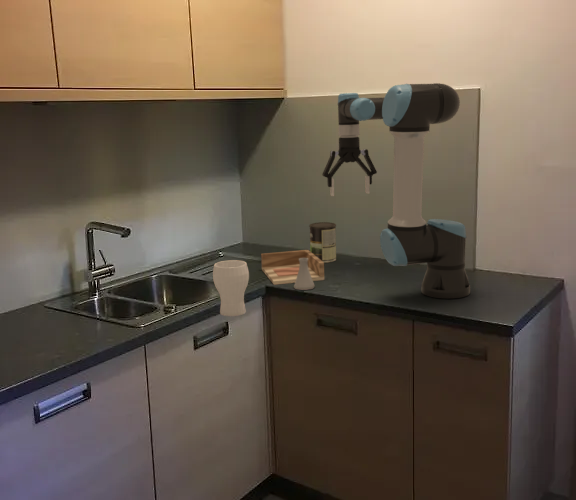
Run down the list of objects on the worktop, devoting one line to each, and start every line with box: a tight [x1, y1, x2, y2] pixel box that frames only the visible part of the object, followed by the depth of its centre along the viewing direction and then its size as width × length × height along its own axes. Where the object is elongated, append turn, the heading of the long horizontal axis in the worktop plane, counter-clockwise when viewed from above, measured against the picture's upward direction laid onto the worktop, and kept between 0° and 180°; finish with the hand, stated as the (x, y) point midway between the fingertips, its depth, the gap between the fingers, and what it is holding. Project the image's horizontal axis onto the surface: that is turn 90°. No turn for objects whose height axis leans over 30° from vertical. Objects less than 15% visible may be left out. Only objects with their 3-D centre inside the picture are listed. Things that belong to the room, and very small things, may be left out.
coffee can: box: [308, 221, 337, 264], centre depth 258 cm, size 10×10×14 cm
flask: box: [293, 258, 316, 291], centre depth 221 cm, size 7×7×10 cm
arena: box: [260, 249, 325, 286], centre depth 239 cm, size 22×18×6 cm
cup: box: [212, 259, 250, 317], centre depth 197 cm, size 11×11×15 cm
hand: (350, 194), depth 245 cm, fingers open, 13 cm apart
